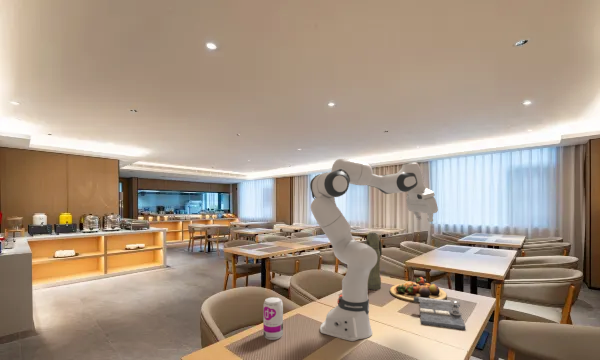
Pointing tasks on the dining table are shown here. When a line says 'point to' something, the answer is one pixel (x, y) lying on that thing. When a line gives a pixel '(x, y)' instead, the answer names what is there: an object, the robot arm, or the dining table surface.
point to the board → (441, 315)
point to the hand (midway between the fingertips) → (424, 220)
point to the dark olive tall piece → (374, 275)
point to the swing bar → (437, 301)
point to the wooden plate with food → (417, 291)
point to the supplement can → (273, 318)
